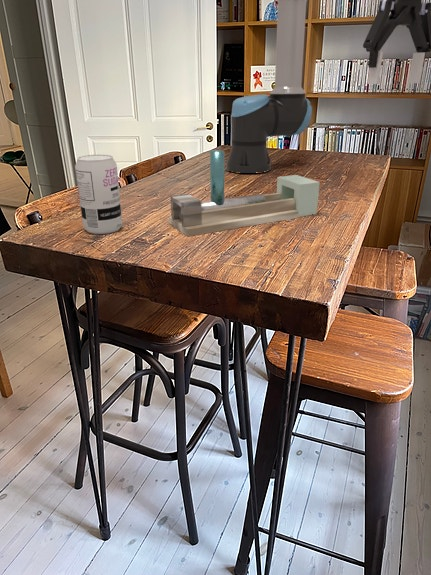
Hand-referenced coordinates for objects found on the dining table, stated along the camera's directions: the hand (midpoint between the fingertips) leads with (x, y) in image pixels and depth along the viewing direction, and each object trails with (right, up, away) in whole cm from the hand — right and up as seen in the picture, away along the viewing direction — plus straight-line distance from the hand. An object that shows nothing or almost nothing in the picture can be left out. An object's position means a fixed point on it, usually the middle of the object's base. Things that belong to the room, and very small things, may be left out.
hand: (393, 83), depth 106 cm
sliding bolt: (-40, -32, -6) cm, 52 cm away
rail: (-38, -33, -4) cm, 50 cm away
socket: (-22, -29, +3) cm, 37 cm away
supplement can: (-66, -36, -9) cm, 76 cm away
